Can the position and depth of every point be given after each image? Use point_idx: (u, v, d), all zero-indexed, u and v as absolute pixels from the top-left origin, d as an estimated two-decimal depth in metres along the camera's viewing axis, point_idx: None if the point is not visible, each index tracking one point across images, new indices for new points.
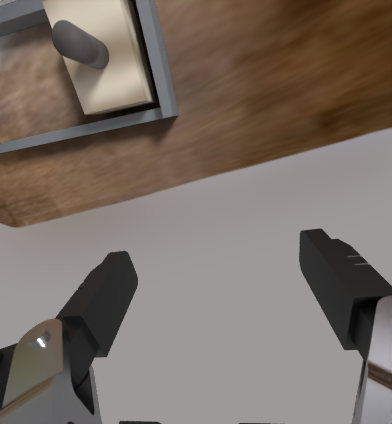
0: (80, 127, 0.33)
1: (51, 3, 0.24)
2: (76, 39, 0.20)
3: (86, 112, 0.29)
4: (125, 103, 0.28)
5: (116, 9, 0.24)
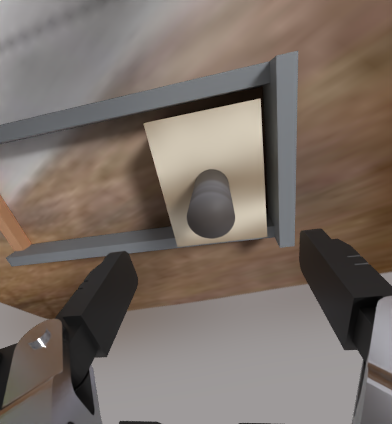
0: (157, 242, 0.26)
1: (157, 125, 0.16)
2: (227, 218, 0.13)
3: (180, 245, 0.21)
4: (237, 238, 0.20)
5: (254, 136, 0.16)
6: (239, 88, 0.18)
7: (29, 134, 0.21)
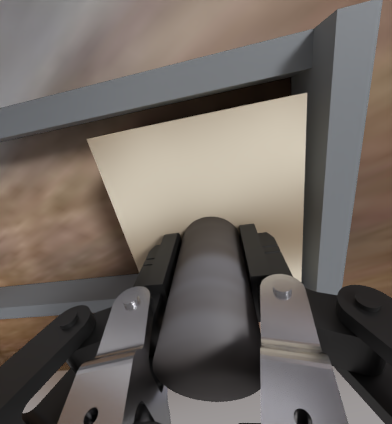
0: None
1: (111, 143, 0.09)
2: (250, 375, 0.05)
3: None
4: None
5: (289, 163, 0.09)
6: (258, 78, 0.10)
7: None
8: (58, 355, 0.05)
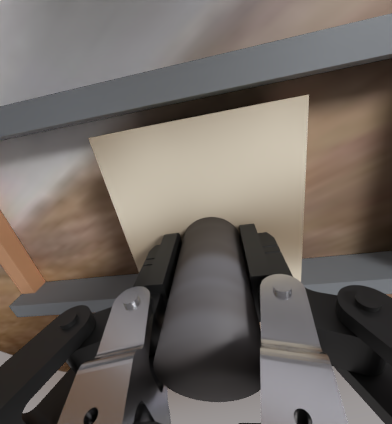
0: None
1: (113, 142, 0.09)
2: (250, 375, 0.05)
3: None
4: None
5: (290, 164, 0.09)
6: None
7: (59, 121, 0.12)
8: (58, 355, 0.05)
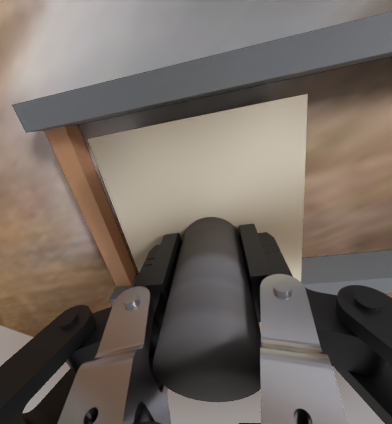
0: (388, 281, 0.15)
1: (112, 143, 0.09)
2: (250, 375, 0.05)
3: None
4: None
5: (289, 164, 0.09)
6: None
7: (237, 82, 0.11)
8: (58, 354, 0.05)
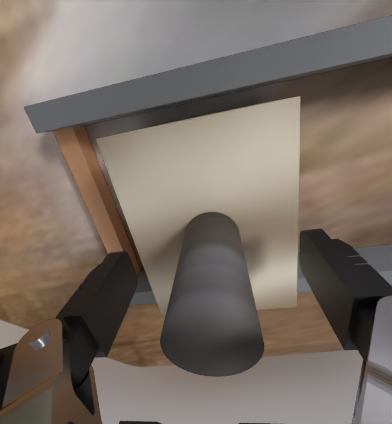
0: (383, 274, 0.16)
1: (119, 143, 0.10)
2: (247, 349, 0.06)
3: (166, 313, 0.14)
4: None
5: (285, 161, 0.09)
6: None
7: (237, 84, 0.11)
8: None
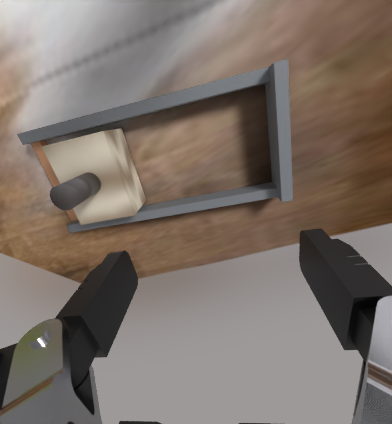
0: (187, 205, 0.33)
1: (49, 147, 0.28)
2: (71, 198, 0.24)
3: (82, 223, 0.32)
4: (116, 217, 0.31)
5: (106, 152, 0.27)
6: (249, 85, 0.26)
7: (98, 124, 0.29)
8: None
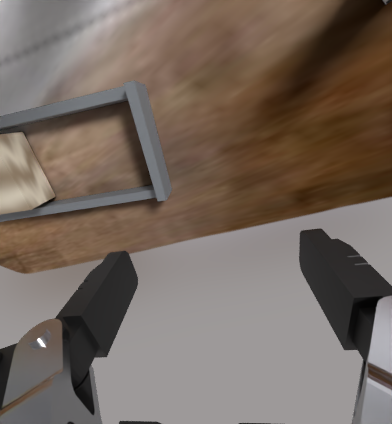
0: (85, 202, 0.38)
1: None
2: None
3: None
4: (16, 210, 0.35)
5: None
6: (115, 100, 0.30)
7: None
8: None
